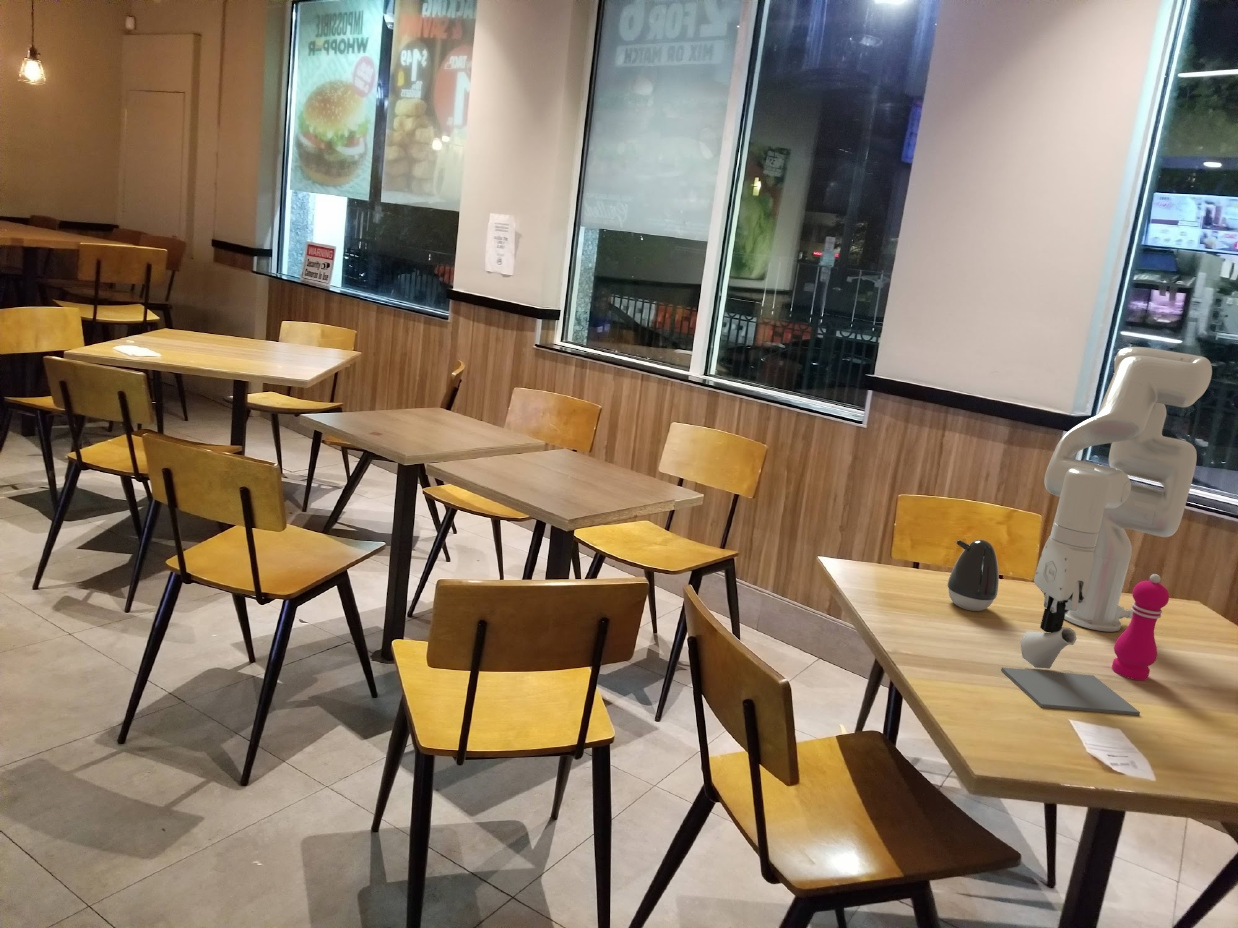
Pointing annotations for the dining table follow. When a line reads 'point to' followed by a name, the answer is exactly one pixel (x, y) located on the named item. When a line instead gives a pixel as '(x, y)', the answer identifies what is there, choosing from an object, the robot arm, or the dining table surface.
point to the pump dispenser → (974, 576)
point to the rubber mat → (1069, 691)
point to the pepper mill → (1141, 631)
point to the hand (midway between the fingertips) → (1050, 630)
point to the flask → (1045, 646)
